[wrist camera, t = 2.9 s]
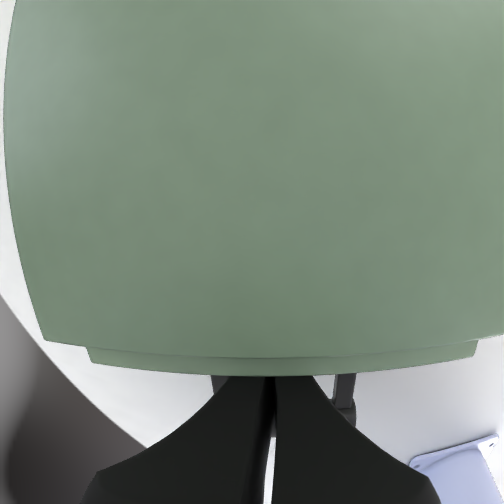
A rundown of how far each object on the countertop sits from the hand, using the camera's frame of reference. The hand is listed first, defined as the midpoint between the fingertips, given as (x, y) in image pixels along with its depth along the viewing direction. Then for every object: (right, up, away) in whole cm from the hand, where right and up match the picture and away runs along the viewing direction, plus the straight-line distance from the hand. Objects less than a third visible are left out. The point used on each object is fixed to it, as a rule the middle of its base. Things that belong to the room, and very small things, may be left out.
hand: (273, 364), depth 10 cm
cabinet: (0, +10, +1) cm, 10 cm away
